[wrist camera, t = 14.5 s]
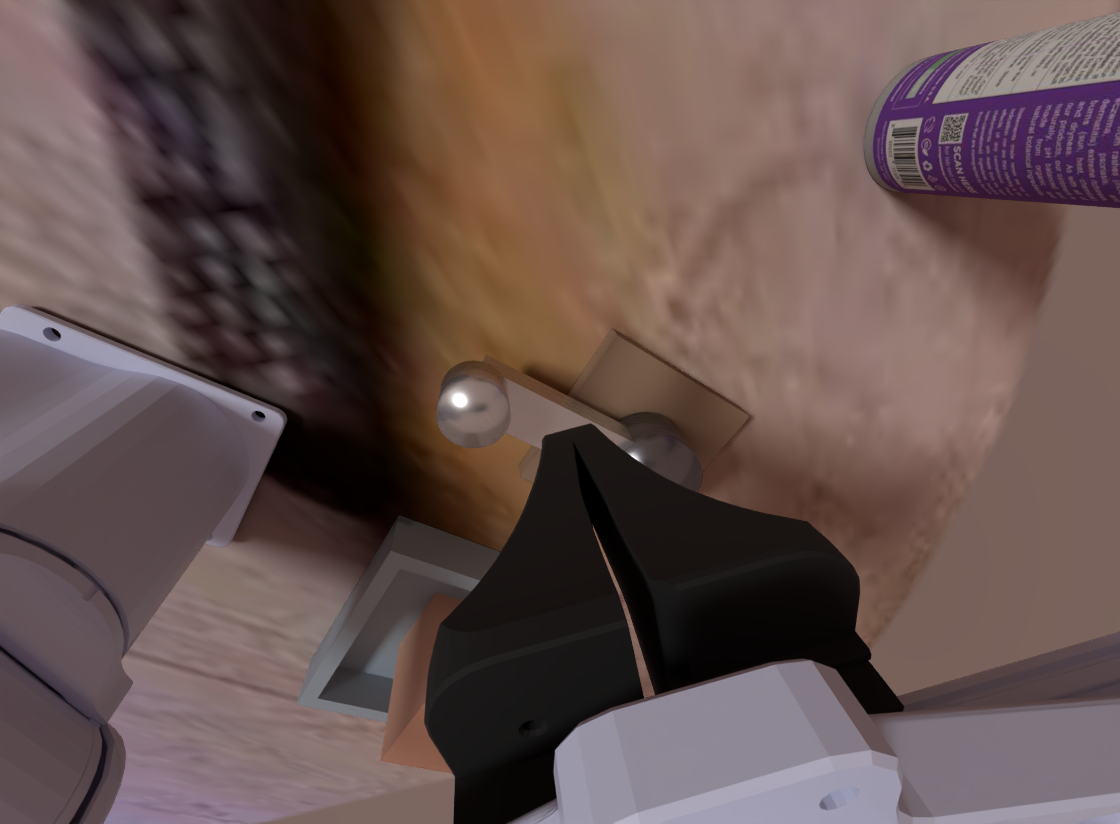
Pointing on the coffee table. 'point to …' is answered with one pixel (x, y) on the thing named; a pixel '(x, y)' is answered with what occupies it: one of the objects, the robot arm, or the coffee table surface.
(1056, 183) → the container
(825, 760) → the robot arm
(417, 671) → the block
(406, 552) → the tray
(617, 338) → the crank base
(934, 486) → the coffee table surface
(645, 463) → the crank
